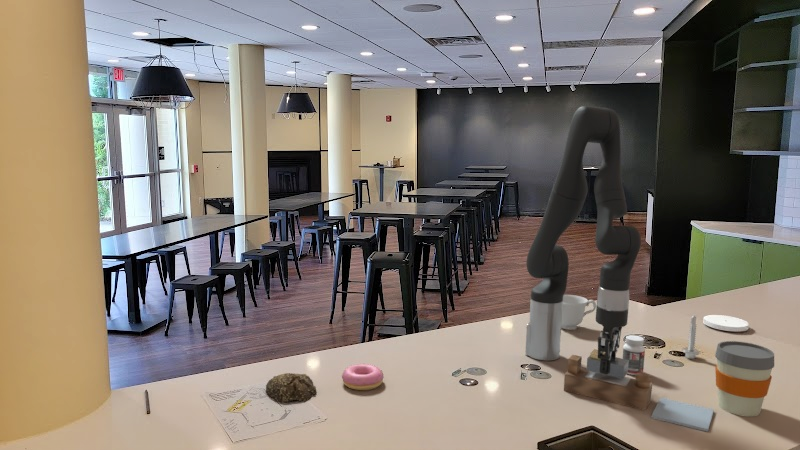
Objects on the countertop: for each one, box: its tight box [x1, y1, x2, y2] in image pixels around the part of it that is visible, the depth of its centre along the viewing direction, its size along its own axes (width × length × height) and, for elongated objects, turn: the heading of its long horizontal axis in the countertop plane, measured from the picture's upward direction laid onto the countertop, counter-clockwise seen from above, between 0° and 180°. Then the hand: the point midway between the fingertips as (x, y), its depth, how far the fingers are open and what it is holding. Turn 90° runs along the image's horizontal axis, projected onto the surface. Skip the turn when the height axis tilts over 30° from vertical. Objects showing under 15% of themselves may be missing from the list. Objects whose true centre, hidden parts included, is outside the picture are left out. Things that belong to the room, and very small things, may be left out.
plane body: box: [563, 354, 653, 411], centre depth 157 cm, size 20×7×8 cm, turn 58°
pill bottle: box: [621, 335, 646, 376], centre depth 172 cm, size 6×6×10 cm
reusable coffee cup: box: [714, 340, 775, 417], centre depth 150 cm, size 13×13×15 cm
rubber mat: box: [650, 397, 715, 432], centre depth 147 cm, size 12×12×1 cm
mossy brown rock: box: [265, 372, 317, 403], centre depth 156 cm, size 13×12×5 cm
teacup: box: [561, 293, 597, 331], centre depth 211 cm, size 12×15×10 cm
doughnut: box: [341, 363, 385, 391], centre depth 162 cm, size 11×11×4 cm
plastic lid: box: [702, 314, 750, 333], centre depth 216 cm, size 14×14×2 cm
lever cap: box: [586, 349, 629, 379], centre depth 156 cm, size 9×5×4 cm, turn 57°
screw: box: [681, 315, 701, 360], centre depth 184 cm, size 13×5×5 cm
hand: (607, 369), depth 157 cm, fingers closed on lever cap, 5 cm apart
